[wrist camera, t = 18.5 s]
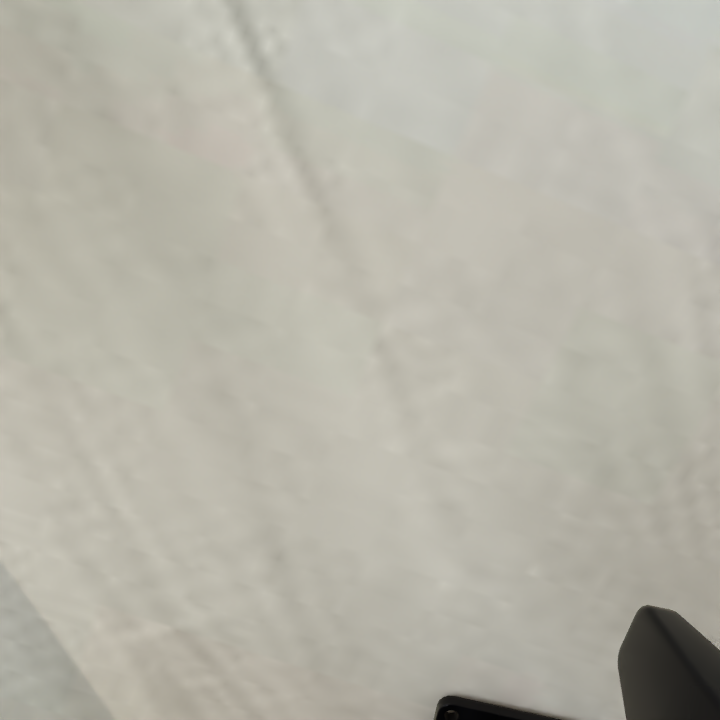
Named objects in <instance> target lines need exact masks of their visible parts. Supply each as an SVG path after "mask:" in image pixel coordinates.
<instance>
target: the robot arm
mask: <svg viewBox="0 0 720 720" xmlns="http://www.w3.org/2000/svg"><path fill="white" fill-rule="evenodd" d="M618 670H619V676H620V683H621V689H622V695H623V701H624V707H625V713H626V720H720V650H719V649H718V648H717V647H715V646H714V645H713V644H712V643H711V642H710V641H709V640H708V639H706V638H705V637H704V636H703V635H702V634H701V633H700V632H698V631H697V630H696V629H695V628H694V627H693V626H692V625H691V624H689V623H688V622H687V621H686V620H685V619H684V618H683V617H681V616H680V615H679V614H678V613H677V612H675V611H673V610H670V609H665V608H660V607H655V606H650V605H646V606H642V607H641V608H640V609H639V610H638V611H637V613H636V615H635V617H634V619H633V622H632V624H631V626H630V628H629V630H628V632H627V634H626V637H625V639H624V641H623V643H622V645H621V648H620V650H619V655H618ZM449 710H454V711H456V712H455V713H448V712H447V711H449ZM434 720H560V719H555V718H551V717H546V716H542V715H537V714H533V713H528V712H524V711H519V710H515V709H510V708H506V707H501V706H497V705H492V704H488V703H483V702H479V701H474V700H470V699H465V698H461V697H456V696H446V697H443V698H442V699H440V700H439V702H438V704H437V708H436V712H435V716H434Z"/></svg>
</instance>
